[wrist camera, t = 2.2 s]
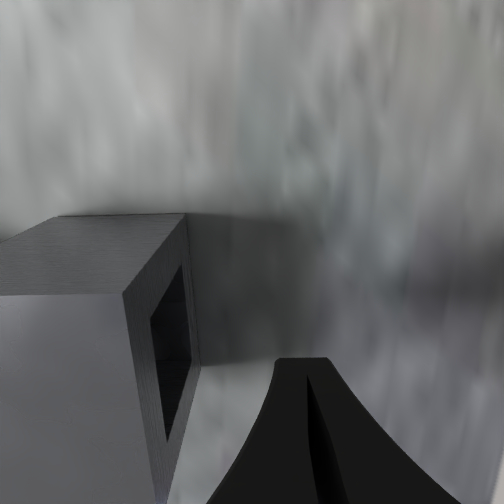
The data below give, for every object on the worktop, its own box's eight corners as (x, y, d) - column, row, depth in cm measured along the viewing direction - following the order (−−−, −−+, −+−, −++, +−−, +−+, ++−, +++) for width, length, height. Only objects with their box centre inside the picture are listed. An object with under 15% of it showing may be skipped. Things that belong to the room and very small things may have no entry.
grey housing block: (185, 213, 14) (121, 293, 8) (200, 369, 17) (160, 527, 10) (53, 217, 15) (-112, 297, 8) (85, 370, 17) (-25, 527, 11)
